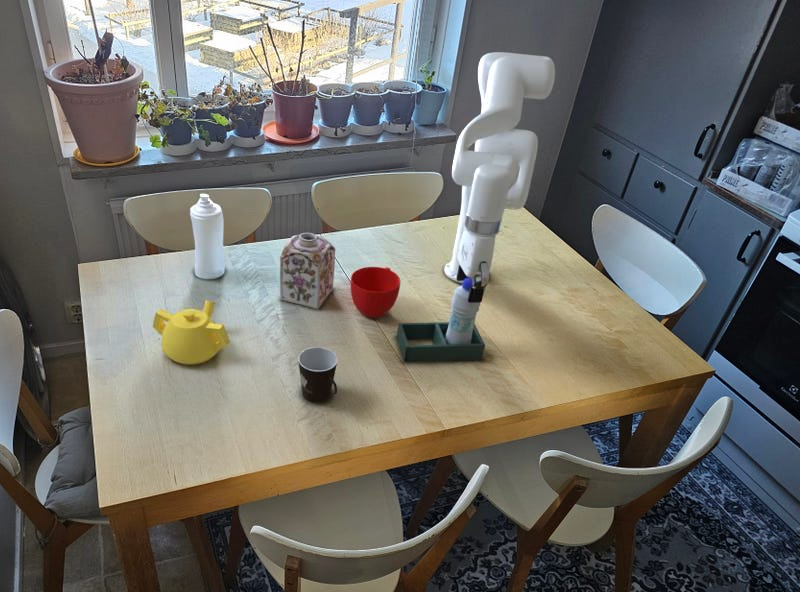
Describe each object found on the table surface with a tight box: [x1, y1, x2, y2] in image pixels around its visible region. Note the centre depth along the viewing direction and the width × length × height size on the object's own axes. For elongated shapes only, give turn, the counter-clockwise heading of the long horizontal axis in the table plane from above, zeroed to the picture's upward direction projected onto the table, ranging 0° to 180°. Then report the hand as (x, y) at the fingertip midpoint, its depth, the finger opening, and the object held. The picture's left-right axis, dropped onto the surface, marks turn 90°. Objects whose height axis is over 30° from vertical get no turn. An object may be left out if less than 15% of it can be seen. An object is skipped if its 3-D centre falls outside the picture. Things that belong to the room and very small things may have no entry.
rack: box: [396, 321, 486, 363], centre depth 157 cm, size 10×19×4 cm, turn 95°
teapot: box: [152, 300, 231, 366], centre depth 153 cm, size 20×18×11 cm
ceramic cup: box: [350, 266, 401, 319], centre depth 169 cm, size 13×17×10 cm
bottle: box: [444, 278, 481, 344], centre depth 153 cm, size 7×7×20 cm
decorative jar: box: [279, 232, 336, 310], centre depth 171 cm, size 12×12×18 cm
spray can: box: [189, 193, 226, 280], centre depth 175 cm, size 12×11×25 cm
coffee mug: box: [297, 346, 339, 404], centre depth 139 cm, size 12×9×10 cm
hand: (468, 290), depth 148 cm, fingers open, 9 cm apart
